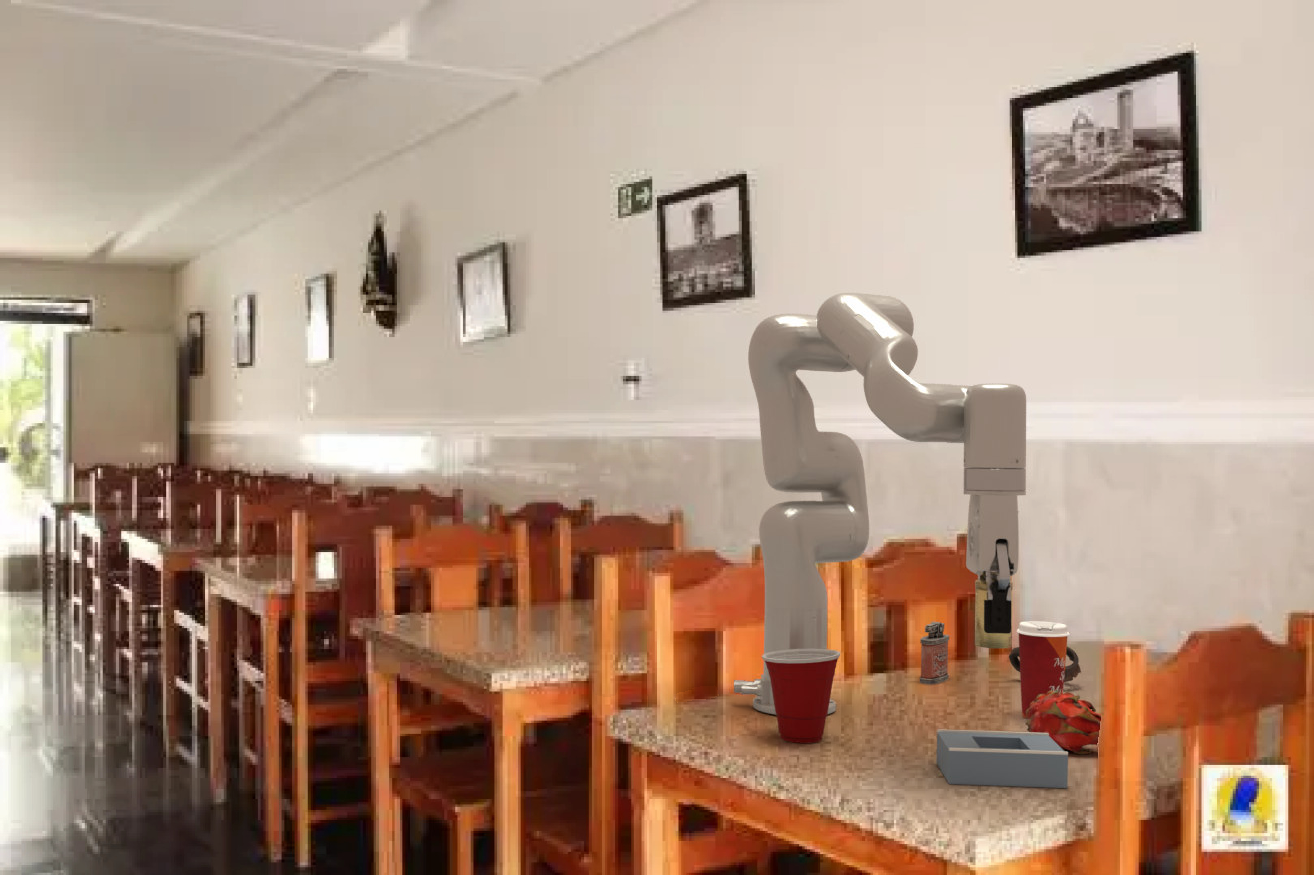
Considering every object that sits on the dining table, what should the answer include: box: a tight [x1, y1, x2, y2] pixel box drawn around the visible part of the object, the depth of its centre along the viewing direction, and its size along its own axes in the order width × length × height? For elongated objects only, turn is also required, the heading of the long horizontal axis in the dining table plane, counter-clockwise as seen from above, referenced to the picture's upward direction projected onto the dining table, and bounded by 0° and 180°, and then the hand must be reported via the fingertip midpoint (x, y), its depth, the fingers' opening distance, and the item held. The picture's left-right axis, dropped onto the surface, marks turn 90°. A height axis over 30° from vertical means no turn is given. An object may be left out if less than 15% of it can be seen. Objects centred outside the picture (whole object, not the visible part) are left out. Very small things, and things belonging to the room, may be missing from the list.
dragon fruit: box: [1025, 690, 1102, 755], centre depth 173 cm, size 8×8×12 cm
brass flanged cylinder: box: [974, 579, 1014, 649], centre depth 159 cm, size 4×4×8 cm
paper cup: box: [1016, 620, 1071, 720], centre depth 193 cm, size 8×8×14 cm
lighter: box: [919, 621, 950, 685], centre depth 220 cm, size 8×3×10 cm, turn 144°
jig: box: [935, 728, 1069, 789], centre depth 159 cm, size 14×10×4 cm
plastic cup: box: [761, 648, 841, 744], centre depth 176 cm, size 11×11×12 cm
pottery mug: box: [1008, 646, 1082, 683], centre depth 218 cm, size 12×10×8 cm
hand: (993, 628), depth 159 cm, fingers closed on brass flanged cylinder, 4 cm apart
